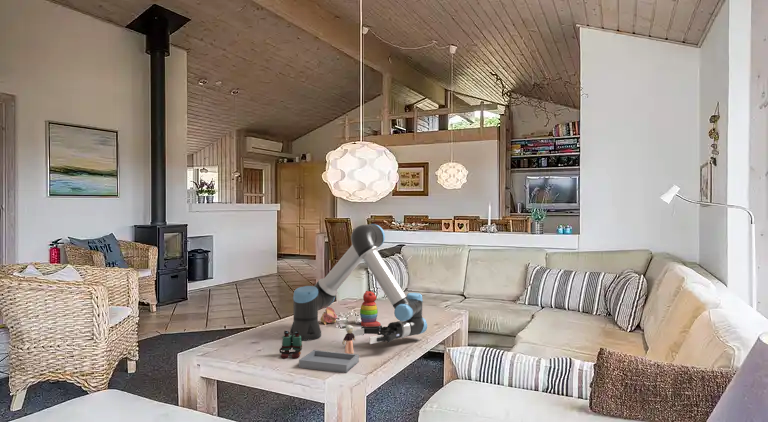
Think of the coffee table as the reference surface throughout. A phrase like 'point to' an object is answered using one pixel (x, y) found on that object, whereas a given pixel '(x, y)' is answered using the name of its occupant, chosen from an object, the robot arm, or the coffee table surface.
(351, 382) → the coffee table surface
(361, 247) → the robot arm
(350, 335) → the grandmother figurine
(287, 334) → the binoculars
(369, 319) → the stacking bear
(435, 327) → the coffee table surface
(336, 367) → the tray
